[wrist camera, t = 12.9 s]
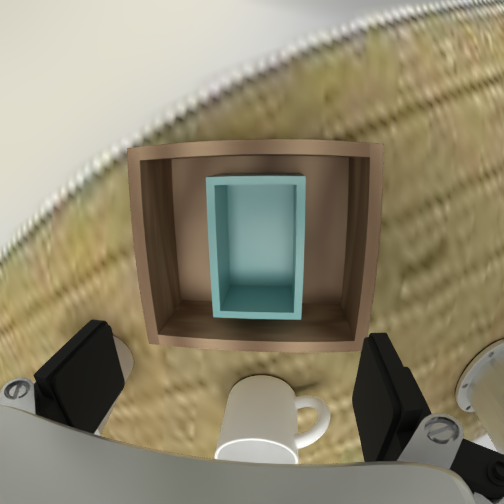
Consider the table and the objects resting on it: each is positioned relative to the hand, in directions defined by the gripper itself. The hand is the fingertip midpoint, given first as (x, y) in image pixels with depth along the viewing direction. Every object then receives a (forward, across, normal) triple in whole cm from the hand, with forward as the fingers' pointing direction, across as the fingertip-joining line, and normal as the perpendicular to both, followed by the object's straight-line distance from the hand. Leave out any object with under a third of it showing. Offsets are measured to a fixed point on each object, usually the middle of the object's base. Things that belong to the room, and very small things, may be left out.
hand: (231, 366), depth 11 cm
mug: (+21, -2, +20) cm, 29 cm away
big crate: (+20, 0, 0) cm, 20 cm away
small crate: (+19, 0, 0) cm, 19 cm away
